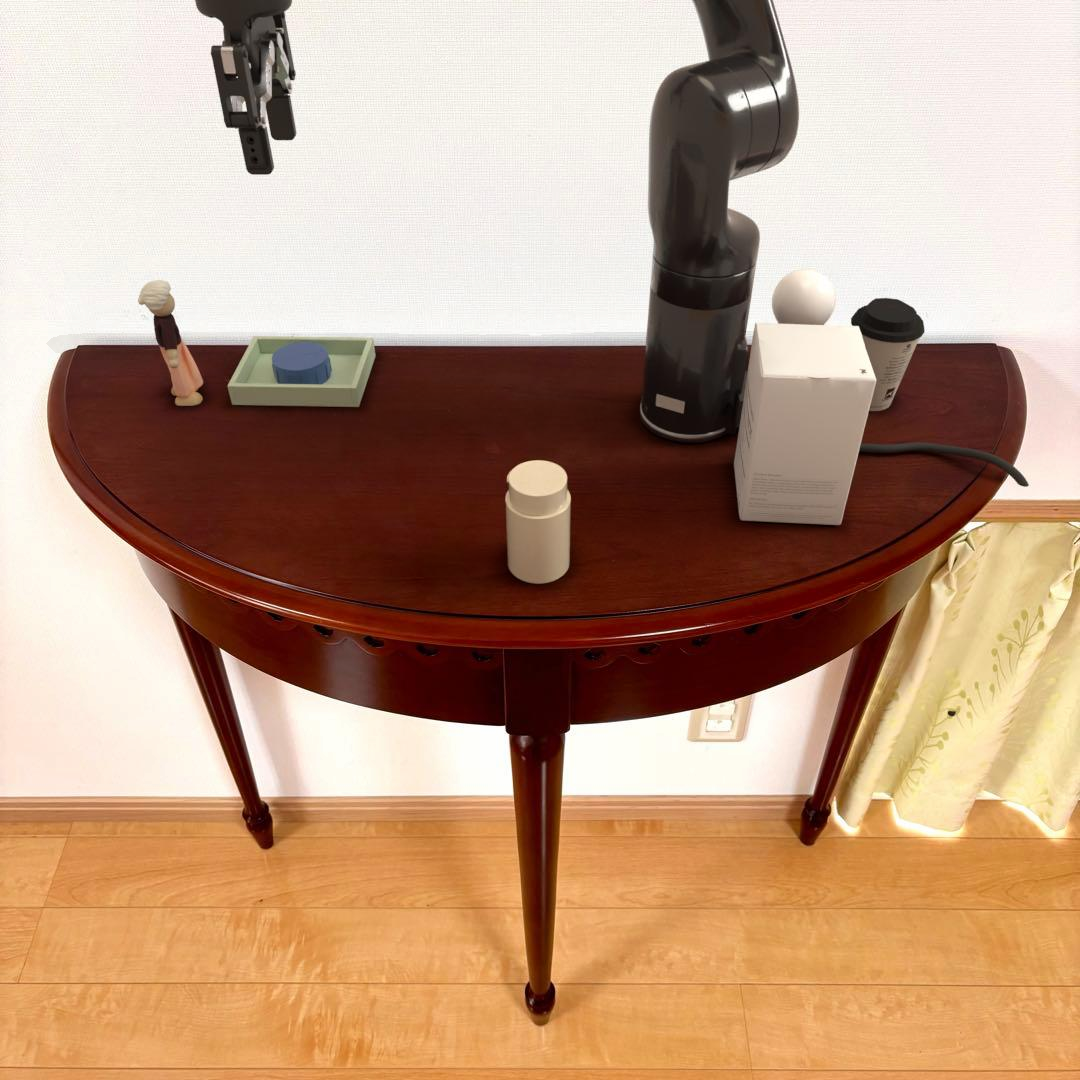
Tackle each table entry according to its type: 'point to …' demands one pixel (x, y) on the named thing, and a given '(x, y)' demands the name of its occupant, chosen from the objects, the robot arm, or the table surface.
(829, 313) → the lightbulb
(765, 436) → the rectangular carton
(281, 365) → the lid
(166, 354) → the grandmother figurine
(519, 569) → the jar
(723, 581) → the table surface
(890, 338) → the coffee cup
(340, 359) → the tray
